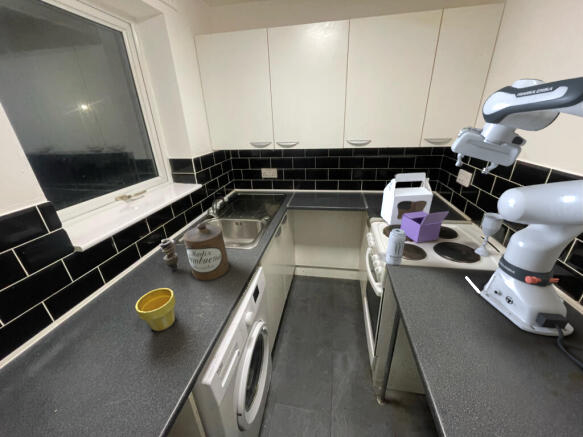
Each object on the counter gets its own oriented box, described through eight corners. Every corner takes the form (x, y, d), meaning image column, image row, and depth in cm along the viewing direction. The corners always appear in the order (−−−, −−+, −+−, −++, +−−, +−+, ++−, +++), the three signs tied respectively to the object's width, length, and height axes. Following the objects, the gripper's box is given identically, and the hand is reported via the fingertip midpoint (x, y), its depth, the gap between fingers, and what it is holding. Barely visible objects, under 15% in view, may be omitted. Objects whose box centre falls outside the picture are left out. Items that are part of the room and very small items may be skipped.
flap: (442, 220, 111) (442, 221, 110) (420, 223, 108) (421, 224, 108) (448, 211, 106) (449, 211, 106) (426, 214, 104) (427, 214, 104)
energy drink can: (389, 266, 96) (394, 235, 90) (383, 258, 101) (387, 228, 95) (403, 265, 96) (409, 234, 90) (396, 257, 102) (401, 227, 96)
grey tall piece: (169, 267, 101) (160, 237, 95) (182, 265, 102) (174, 235, 96) (166, 275, 96) (156, 244, 90) (180, 272, 97) (171, 241, 91)
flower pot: (140, 324, 73) (130, 300, 69) (172, 305, 80) (165, 283, 76) (151, 343, 67) (141, 318, 63) (186, 320, 74) (179, 297, 70)
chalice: (485, 248, 106) (498, 212, 98) (495, 257, 99) (510, 219, 92) (468, 248, 106) (479, 212, 99) (477, 256, 100) (490, 219, 93)
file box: (437, 239, 115) (442, 220, 111) (416, 242, 113) (420, 223, 108) (419, 228, 126) (422, 211, 122) (399, 231, 124) (402, 213, 120)
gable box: (415, 214, 144) (424, 169, 132) (427, 223, 132) (438, 175, 120) (380, 215, 143) (386, 171, 132) (389, 224, 131) (396, 176, 120)
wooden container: (187, 282, 91) (174, 233, 82) (199, 260, 105) (188, 216, 96) (225, 279, 92) (215, 230, 83) (231, 258, 106) (224, 214, 97)
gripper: (467, 126, 79) (444, 164, 87) (532, 142, 75) (502, 180, 83) (461, 123, 84) (440, 159, 92) (522, 138, 81) (495, 174, 88)
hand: (470, 169), depth 88 cm, fingers open, 8 cm apart
